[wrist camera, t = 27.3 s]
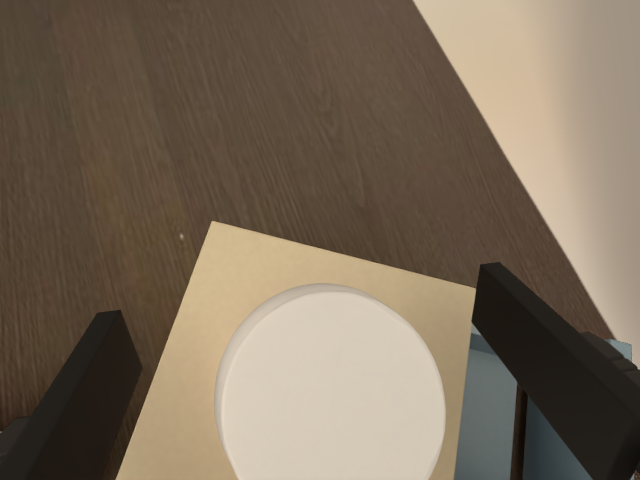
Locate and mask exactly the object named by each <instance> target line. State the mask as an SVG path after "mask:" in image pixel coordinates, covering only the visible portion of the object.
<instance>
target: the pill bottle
mask: <svg viewBox="0 0 640 480" xmlns="http://www.w3.org/2000/svg"><path fill="white" fill-rule="evenodd" d="M214 411H215V420H216V425H217V429H218V434H219V438H220V441H221V444H222V446H223V449H224V451H225V454H226V455H227V457H228V459H229V461H230V463H231V465H232V467H233V470H234V472H235V474H236V476H237V478H238V479H239V480H428V479H429V477H430V476H431V474H432V472H433V469H434V467H435V465H436V463H437V460H438V457H439V454H440V450H441V447H442V443H443V438H444V433H445V422H446V405H445V396H444V391H443V385H442V380H441V377H440V374H439V371H438V368H437V366H436V363H435V360H434V358H433V356H432V354H431V353H430V351H429V349H428V347H427V345H426V344H425V342H424V341H423V339H422V338H421V336H420V335H419V334H418V333H417V332H416V330H415V329H414V328H413V327H412V326H411V325H410V324H409V323H408V322H407V321H406V320H405V319H404V318H403V317H402V316H400V315H399V314H398V313H397V312H396V311H394V310H392V309H391V308H389V307H388V306H386V305H385V304H384V303H382V302H381V301H380V300H378V299H377V298H375V297H373V296H371V295H369V294H367V293H365V292H363V291H361V290H358V289H355V288H352V287H348V286H344V285H339V284H330V283H316V284H307V285H302V286H298V287H294V288H291V289H288V290H286V291H283V292H281V293H279V294H277V295H275V296H273V297H271V298H270V299H268V300H267V301H265V302H264V303H262V304H261V305H260V306H258V307H257V308H256V309H255V310H254V311H253V312H252V313H250V315H249V316H248V317H247V318H246V319H245V320H244V321H243V322H242V323H241V324H240V326H239V327H238V328H237V330H236V331H235V333H234V334H233V336H232V337H231V339H230V341H229V343H228V345H227V347H226V349H225V351H224V354H223V356H222V359H221V361H220V365H219V368H218V372H217V377H216V382H215V392H214Z"/></svg>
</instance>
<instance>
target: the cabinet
mask: <svg viewBox="0 0 640 480" xmlns="http://www.w3.org/2000/svg"><path fill="white" fill-rule="evenodd" d="M316 283H330V284H339V285H344V286H348V287H352V288H355V289H358V290H361V291H363V292H365V293H367V294H369V295H371V296H373V297H375V298H377V299H378V300H380V301H381V302H382V303H384V304H385V305H386V306H388V307H389V308H391V309H392V310H394V311H396V312H397V313H398V314H399V315H400V316H402V317H403V318H404V319H405V320H406V321H407V322H408V323H409V324H410V325H411V326H412V327H413V328H414V329H415V330H416V332H417V333H418V334H419V335H420V336H421V338H422V339H423V341H424V342H425V344H426V345H427V347H428V349H429V351H430V353H431V354H432V356H433V358H434V360H435V363H436V366H437V368H438V371H439V374H440V377H441V380H442V385H443V391H444V396H445V405H446V422H445V433H444V438H443V443H442V447H441V450H440V454H439V457H438V460H437V463H436V465H435V467H434V469H433V472H432V474H431V476H430V477H429V479H428V480H454V474H455V466H456V457H457V449H458V440H459V431H460V423H461V414H462V405H463V397H464V388H465V380H466V371H467V362H468V354H469V345H470V337H471V328H472V322H471V319H472V313H473V307H474V301H475V293H476V289H475V288H472V287H468V286H464V285H460V284H456V283H452V282H449V281H445V280H441V279H437V278H433V277H429V276H425V275H421V274H417V273H414V272H410V271H406V270H402V269H398V268H394V267H390V266H386V265H382V264H379V263H375V262H371V261H367V260H363V259H359V258H355V257H351V256H347V255H344V254H340V253H336V252H332V251H328V250H324V249H320V248H316V247H312V246H309V245H305V244H301V243H297V242H293V241H289V240H285V239H281V238H277V237H274V236H270V235H266V234H262V233H258V232H254V231H250V230H246V229H242V228H239V227H235V226H231V225H227V224H223V223H219V222H215V221H212V223H211V225H210V228H209V231H208V233H207V236H206V239H205V241H204V244H203V247H202V249H201V252H200V255H199V257H198V260H197V263H196V266H195V268H194V271H193V274H192V276H191V279H190V282H189V284H188V287H187V290H186V292H185V295H184V298H183V300H182V303H181V306H180V309H179V311H178V314H177V317H176V319H175V322H174V325H173V327H172V330H171V333H170V335H169V338H168V341H167V343H166V346H165V349H164V351H163V354H162V357H161V360H160V362H159V365H158V368H157V370H156V373H155V376H154V378H153V381H152V384H151V386H150V389H149V392H148V394H147V397H146V400H145V403H144V405H143V408H142V411H141V413H140V416H139V419H138V421H137V424H136V427H135V429H134V432H133V435H132V437H131V440H130V443H129V446H128V448H127V451H126V454H125V456H124V459H123V462H122V464H121V467H120V470H119V472H118V475H117V478H116V480H239V479H238V478H237V476H236V474H235V472H234V470H233V467H232V465H231V463H230V461H229V459H228V457H227V455H226V454H225V451H224V449H223V446H222V444H221V441H220V438H219V434H218V429H217V425H216V420H215V411H214V392H215V382H216V377H217V372H218V368H219V365H220V361H221V359H222V356H223V354H224V351H225V349H226V347H227V345H228V343H229V341H230V339H231V337H232V336H233V334H234V333H235V331H236V330H237V328H238V327H239V326H240V324H241V323H242V322H243V321H244V320H245V319H246V318H247V317H248V316H249V315H250V313H252V312H253V311H254V310H255V309H256V308H257V307H258V306H260V305H261V304H262V303H264V302H265V301H267V300H268V299H270V298H271V297H273V296H275V295H277V294H279V293H281V292H283V291H286V290H288V289H291V288H294V287H298V286H302V285H307V284H316Z"/></svg>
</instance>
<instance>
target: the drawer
mask: <svg viewBox="0 0 640 480" xmlns="http://www.w3.org/2000/svg"><path fill="white" fill-rule="evenodd" d="M605 341H606V342H608V343H610V344H611V345H612V346H613V347H614V348H616V349H617V350H618V351H619V352H620V353H621V354H623V355H624V358H625V359H629V360H630V361H631V362H632V352H631V350H632V347H631V344H628V343H624V342H620V341H616V340H612V339H606V340H605ZM516 392H517V381H516V379H515V378H514V377H513V375H512V374H511V373H510V372H509V370H508V369H507V368H506V366H505V365H504V364H503V362H502V361H501V360H500V359H499V357H498V356H497V355H496V353H495V352H494V351H493V350H492V348H491V347H490V346H489V344H488V343H487V342H486V340H485V339H484V338H483V337H482V335H481V334H480V333H479V331H478V330H477V329H476V327H475V326H474V325H473V324H472V328H471V337H470V345H469V354H468V362H467V371H466V380H465V388H464V397H463V405H462V414H461V423H460V431H459V440H458V449H457V457H456V466H455V474H454V480H510V473H511V460H512V446H513V432H514V419H515V405H516ZM523 480H593V479H592V478H591V477H590V475H589V474H588V473H587V472H586V470H585V469H584V468H583V466H582V465H581V464H580V462H579V461H578V460H577V459H576V457H575V456H574V455H573V453H572V452H571V451H570V449H569V448H568V447H567V446H566V444H565V443H564V442H563V440H562V439H561V438H560V436H559V435H558V434H557V433H556V431H555V430H554V429H553V427H552V426H551V425H550V424H549V422H548V421H547V420H546V418H545V417H544V416H543V414H542V413H541V412H540V411H539V409H538V408H537V407H536V405H535V404H534V403H533V401H532V400H531V399H530V398H529V396H528V402H527V417H526V433H525V449H524V464H523ZM630 480H634V474H633V476H632V477H631V479H630Z"/></svg>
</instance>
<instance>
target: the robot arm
mask: <svg viewBox="0 0 640 480" xmlns="http://www.w3.org/2000/svg"><path fill="white" fill-rule="evenodd" d="M471 322H472V324H473V325H474V326H475V327H476V329H477V330H478V331H479V333H480V334H481V335H482V337H483V338H484V339H485V340H486V342H487V343H488V344H489V346H490V347H491V348H492V350H493V351H494V352H495V353H496V355H497V356H498V357H499V359H500V360H501V361H502V362H503V364H504V365H505V366H506V368H507V369H508V370H509V372H510V373H511V374H512V375H513V377H514V378H515V379H516V381H517V382H518V383H519V385H520V386H521V387H522V388H523V390H524V391H525V392H526V394H527V395H528V396H529V398H530V399H531V400H532V401H533V403H534V404H535V405H536V407H537V408H538V409H539V411H540V412H541V413H542V414H543V416H544V417H545V418H546V420H547V421H548V422H549V424H550V425H551V426H552V427H553V429H554V430H555V431H556V433H557V434H558V435H559V436H560V438H561V439H562V440H563V442H564V443H565V444H566V446H567V447H568V448H569V449H570V451H571V452H572V453H573V455H574V456H575V457H576V459H577V460H578V461H579V462H580V464H581V465H582V466H583V468H584V469H585V470H586V472H587V473H588V474H589V475H590V477H591V478H592V479H593V480H630V479H631V477H632V476H633V474H634V472H635V470H637V471H638V472H639V473H640V370H638V369H637V366H636V365H635V364H633V363H632V362H631V361H630V360H629V359H625V358H624V355H623V354H621V353H620V352H619V351H618V350H617V349H616V348H614V347H613V346H612V345H611V344H610V343H608V342H606V341H605V340H603V339H601V338H599V337H597V336H595V335H593V334H592V333H590V332H585V333H579V332H578V331H576V330H575V329H574V328H573V327H572V326H571V325H570V324H569V323H567V322H566V321H565V320H564V319H563V318H562V317H561V316H560V315H558V314H557V313H556V312H555V311H554V310H553V309H552V308H551V307H549V306H548V305H547V304H546V303H545V302H544V301H543V300H542V299H540V298H539V297H538V296H537V295H536V294H535V293H534V292H533V291H531V290H530V289H529V288H528V287H527V286H526V285H525V284H524V283H522V282H521V281H520V280H519V279H518V278H517V277H516V276H515V275H513V274H512V273H511V272H510V271H509V270H508V269H507V268H506V267H504V266H503V265H502V264H501V263H500V262H496V263H488V264H480V270H479V276H478V282H477V288H476V294H475V301H474V307H473V313H472V319H471ZM141 371H142V365H141V362H140V360H139V357H138V355H137V352H136V349H135V347H134V344H133V341H132V339H131V336H130V334H129V331H128V328H127V326H126V323H125V321H124V318H123V315H122V313H121V310H116V311H108V312H100V313H97V314H96V316H95V317H94V319H93V320H92V322H91V323H90V325H89V327H88V328H87V330H86V331H85V333H84V334H83V336H82V338H81V339H80V341H79V342H78V344H77V345H76V347H75V348H74V350H73V352H72V353H71V355H70V356H69V358H68V359H67V361H66V362H65V364H64V366H63V367H62V369H61V370H60V372H59V373H58V375H57V377H56V378H55V380H54V381H53V383H52V384H51V386H50V387H49V389H48V391H47V392H46V394H45V395H44V397H43V398H42V400H41V401H40V403H39V405H38V406H37V408H36V409H35V411H34V412H33V414H32V415H31V416H26V417H19V418H16V419H15V420H14V421H13V422H12V423H10V424H9V425H8V426H7V427H6V428H5V429H4V430H3V431H2V432H1V433H0V480H100V477H101V475H102V472H103V470H104V467H105V464H106V462H107V459H108V457H109V454H110V451H111V449H112V446H113V444H114V441H115V438H116V436H117V433H118V431H119V428H120V425H121V423H122V420H123V418H124V415H125V412H126V410H127V407H128V405H129V402H130V399H131V397H132V394H133V392H134V389H135V387H136V384H137V381H138V379H139V376H140V374H141Z"/></svg>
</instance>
